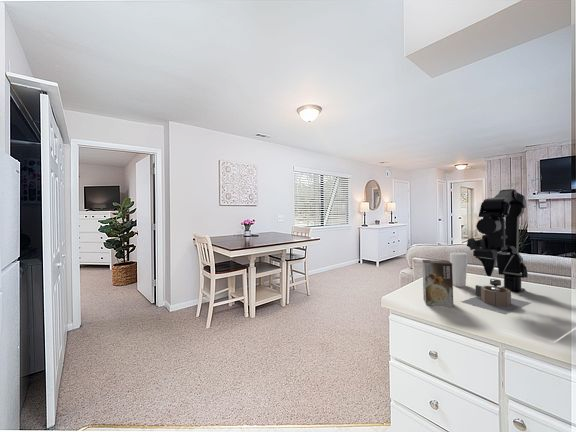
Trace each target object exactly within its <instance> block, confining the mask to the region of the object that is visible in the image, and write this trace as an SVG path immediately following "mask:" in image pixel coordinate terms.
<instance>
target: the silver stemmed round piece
mask: <svg viewBox="0 0 576 432" xmlns="http://www.w3.org/2000/svg"><path fill="white" fill-rule="evenodd" d="M489 285H490V286H494V287H492V288H491V289H492V290H494V291H495V292H497V291H500V289H499V288H497V287H502V280H500V279H495V278H491V279H489Z"/></svg>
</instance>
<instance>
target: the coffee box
mask: <svg viewBox="0 0 576 432" xmlns="http://www.w3.org/2000/svg"><path fill="white" fill-rule="evenodd" d="M422 291H423V293H422V294H423V301H424V303H425V305H426V306H433V307H434V306H435V307H450V308H454V286H453V275H452V263H451V262H450V260H441V259H422Z"/></svg>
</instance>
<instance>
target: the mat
mask: <svg viewBox="0 0 576 432" xmlns="http://www.w3.org/2000/svg"><path fill="white" fill-rule="evenodd" d="M460 302H461V303H463V304H467V305H470V306H472V307H473V306H474V307H477V308H482V309H484V310H485V309H486V310H488V311H492V312H496V313H499V314H503V315H508V314H509V313H510V314H511V313H512V312H515V311H517V310H518V309H521V308H523V307H525V306H528V305H530V304H531V302H528V301H525V300H521V299H516V298H512V297H511V305H510V306H506V307H505V306H494V305H490V304H487V303H484V302H483V301H482V300H481V297H479V296H476V295H475V296H474V297H472V298H468V299H465V300H462V301H460Z"/></svg>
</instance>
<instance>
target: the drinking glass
mask: <svg viewBox="0 0 576 432" xmlns="http://www.w3.org/2000/svg"><path fill="white" fill-rule="evenodd" d="M449 262H451V263H452V275H453V287H457V288H458V287H459V288H465V287H466V285H467V273H468V254H467V253H466V252H461V251H459V252H458V251H457V252H456V251H455V252H454V251H452V252H449Z"/></svg>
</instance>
